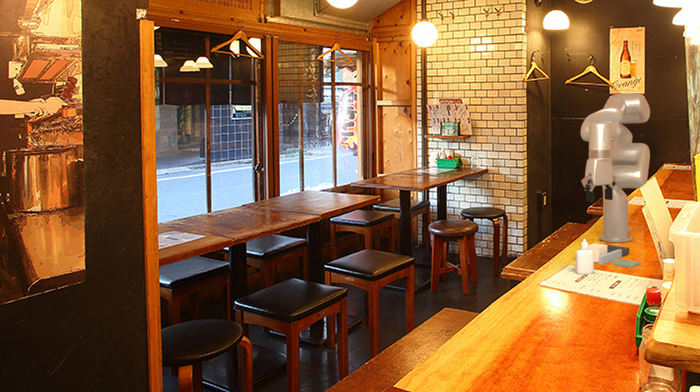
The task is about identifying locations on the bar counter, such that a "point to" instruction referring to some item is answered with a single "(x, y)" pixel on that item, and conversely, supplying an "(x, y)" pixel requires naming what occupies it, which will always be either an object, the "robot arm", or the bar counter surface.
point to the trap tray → (612, 248)
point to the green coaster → (626, 263)
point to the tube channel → (610, 257)
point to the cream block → (597, 250)
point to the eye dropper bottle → (584, 259)
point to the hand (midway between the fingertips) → (599, 200)
